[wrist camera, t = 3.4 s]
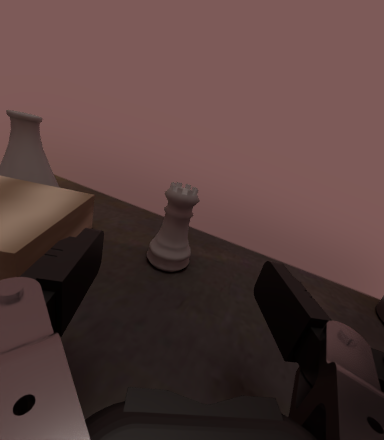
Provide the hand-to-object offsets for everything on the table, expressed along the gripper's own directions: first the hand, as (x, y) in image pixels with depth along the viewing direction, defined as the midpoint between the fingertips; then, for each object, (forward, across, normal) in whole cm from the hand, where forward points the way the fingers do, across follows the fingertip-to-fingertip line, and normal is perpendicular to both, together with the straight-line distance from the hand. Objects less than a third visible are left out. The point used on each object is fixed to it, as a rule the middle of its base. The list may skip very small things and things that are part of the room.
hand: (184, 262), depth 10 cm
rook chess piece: (+10, 0, +7) cm, 12 cm away
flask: (+21, +20, +7) cm, 30 cm away
